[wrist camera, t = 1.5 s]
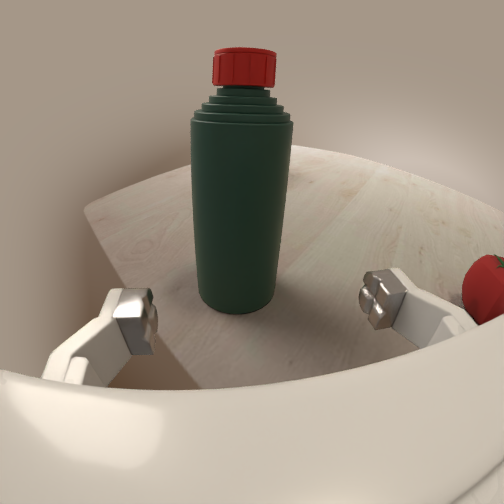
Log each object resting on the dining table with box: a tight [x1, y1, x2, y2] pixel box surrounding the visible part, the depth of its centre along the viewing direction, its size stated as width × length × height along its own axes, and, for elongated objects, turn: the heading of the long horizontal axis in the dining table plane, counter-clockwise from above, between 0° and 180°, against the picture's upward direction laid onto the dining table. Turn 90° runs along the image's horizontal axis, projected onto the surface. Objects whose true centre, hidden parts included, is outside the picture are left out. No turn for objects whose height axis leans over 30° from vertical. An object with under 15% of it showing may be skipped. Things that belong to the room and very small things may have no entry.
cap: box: [212, 47, 276, 88], centre depth 14 cm, size 4×4×2 cm
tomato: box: [462, 255, 504, 325], centre depth 19 cm, size 8×8×7 cm
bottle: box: [191, 85, 293, 314], centre depth 19 cm, size 7×7×18 cm
